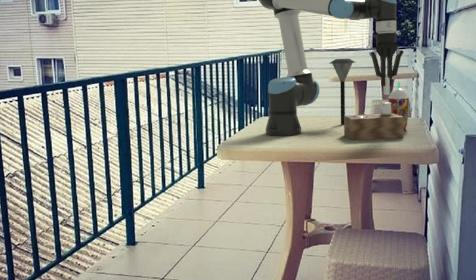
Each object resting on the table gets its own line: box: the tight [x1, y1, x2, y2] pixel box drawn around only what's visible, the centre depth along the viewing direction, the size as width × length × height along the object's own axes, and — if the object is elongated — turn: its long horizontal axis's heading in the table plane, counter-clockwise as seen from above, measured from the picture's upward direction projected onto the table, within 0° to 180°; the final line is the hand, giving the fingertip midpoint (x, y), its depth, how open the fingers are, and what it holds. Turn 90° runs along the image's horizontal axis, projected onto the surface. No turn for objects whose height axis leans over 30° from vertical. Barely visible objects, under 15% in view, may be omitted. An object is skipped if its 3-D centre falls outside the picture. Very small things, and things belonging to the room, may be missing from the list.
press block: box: [343, 113, 405, 141], centre depth 207 cm, size 20×12×8 cm, turn 93°
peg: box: [380, 101, 391, 117], centre depth 207 cm, size 4×4×8 cm
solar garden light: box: [328, 58, 356, 126], centre depth 242 cm, size 12×12×30 cm
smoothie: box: [387, 81, 410, 131], centre depth 221 cm, size 8×8×20 cm
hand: (386, 94), depth 205 cm, fingers closed
